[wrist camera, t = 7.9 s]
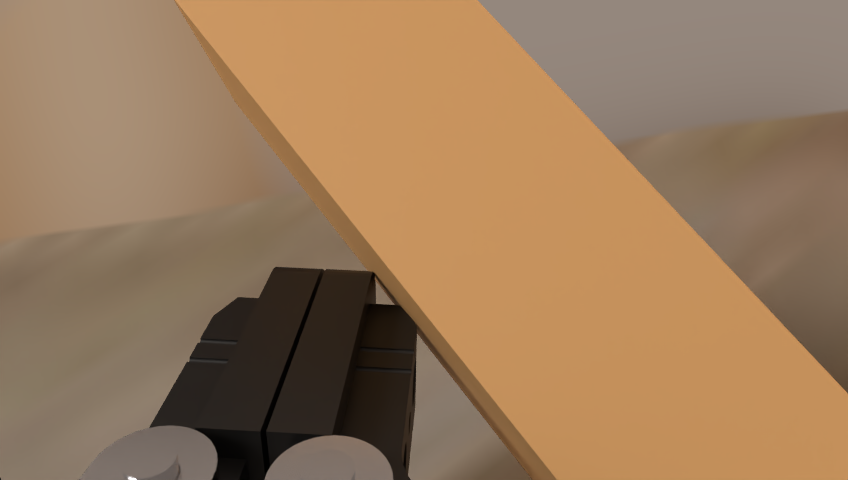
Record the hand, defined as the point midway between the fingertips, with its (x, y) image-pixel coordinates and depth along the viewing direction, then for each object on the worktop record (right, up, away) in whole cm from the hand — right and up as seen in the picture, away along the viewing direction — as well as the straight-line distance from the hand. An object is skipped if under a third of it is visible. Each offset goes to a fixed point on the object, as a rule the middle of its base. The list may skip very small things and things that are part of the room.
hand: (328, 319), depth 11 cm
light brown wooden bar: (+6, -4, -1) cm, 8 cm away
